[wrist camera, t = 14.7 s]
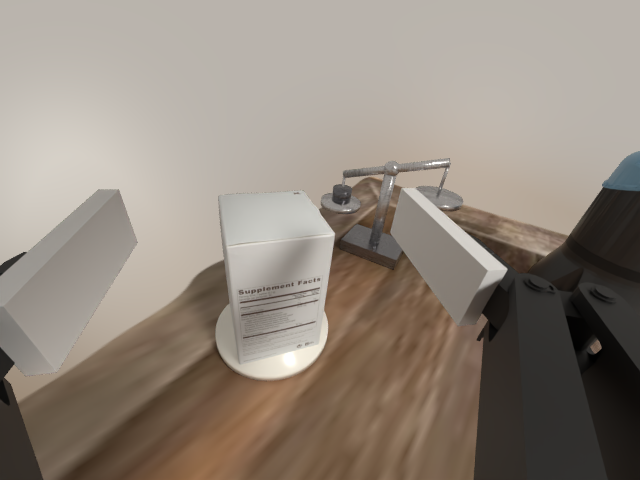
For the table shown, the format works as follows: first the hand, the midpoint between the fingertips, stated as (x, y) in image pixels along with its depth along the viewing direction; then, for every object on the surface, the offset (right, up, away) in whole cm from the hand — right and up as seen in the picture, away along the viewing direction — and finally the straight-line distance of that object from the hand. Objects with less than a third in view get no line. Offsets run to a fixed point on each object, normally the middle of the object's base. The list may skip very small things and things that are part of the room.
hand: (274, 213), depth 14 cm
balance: (+12, -3, +36) cm, 38 cm away
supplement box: (-3, -11, +19) cm, 22 cm away
